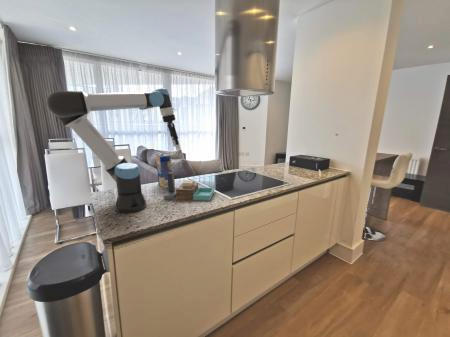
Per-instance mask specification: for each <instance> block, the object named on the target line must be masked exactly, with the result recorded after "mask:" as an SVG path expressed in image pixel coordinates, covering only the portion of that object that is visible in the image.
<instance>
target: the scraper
mask: <svg viewBox="0 0 450 337" xmlns="http://www.w3.org/2000/svg"><path fill="white" fill-rule="evenodd" d="M167 175H168V187H167V190H168V191H167V192H166V193H165V194H164V195H163V200H170V201H171V200H173V201H174V200H175V199H177V196H176V189H177V188H178V187H175V172H169V173H167Z"/></svg>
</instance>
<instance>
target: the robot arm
mask: <svg viewBox="0 0 450 337" xmlns="http://www.w3.org/2000/svg"><path fill="white" fill-rule="evenodd" d="M170 96H171V95H170V93H169V91H168V89H167V87H166V88H165V87H163V88H157V89H155V90H154V91H149V92H148V91H146V92H104V93H103V92H102V93H86V92H84V91H77V90H75V91H73V90H72V91H71V90H56V91H52V92H50V94H49V95H48V97H47V99H46V105H47V108H48V110H49V111H50V112H51V113H52V114H53V115H54V116H55V117H56V118H57V119H58V120H59V122H60V123H61V124H62V125H64V127H66V128H67V127H68V128H70V129H72V130H73V132H74V133H75V134H76V135H77V136H78V137H79V138H80V140H82V142H83V143H85V145H86V146H87V147H88V148H89V149H90V150H91V152H93V154H94V155H95V156H96V157H97V158H98V159H99V161H101V163H103V165H104V170H105V172H106V173H108V175H109V176H110V177H111V178H112V180H114V181H115V183H116V191H117V198H116V201H115V208H114V209H115V211H116V212H117V213H121V214H128V213H129V214H130V213H131V214H132V213H136V212H139V211H142V210H144V209H145V208H146V207H147V201H146V199H145V196H144V194H143V192H142V190H143V189H142V181H141V169H140V166H139V165H138V164H136V163H134V162H129V161H127V160H126V158H125V156H121V155H119V154H118V153H117V152H116V150H115V149H114V148H113V147H112V146H111V144H110V143H109V142H108V141H107V140H106V139H105V138H104V136H103V135H102V134H101V133H100V132H99V130H98V129H97V128H96V126H94V125H93V123H92V122H91V121H90V119H88V116H89V113H90V112H97V111H98V112H99V111H114V110H129V109H139V110H141V111H143V110H148V109H153V108H157V107H158V108H159V110H160V114H161V116H162V120H163V121H162V122H163V123H166V124H167V128H168V130H169V135H170V139H171V142H172V145H173V147H175V150H176V151H178V150H181V149H182V148H181V145H180V141H179V137H178V133H177V131H176V126H175V123H174V121H176V115H175V113H174V107H173V105H172V102H171V97H170Z"/></svg>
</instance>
